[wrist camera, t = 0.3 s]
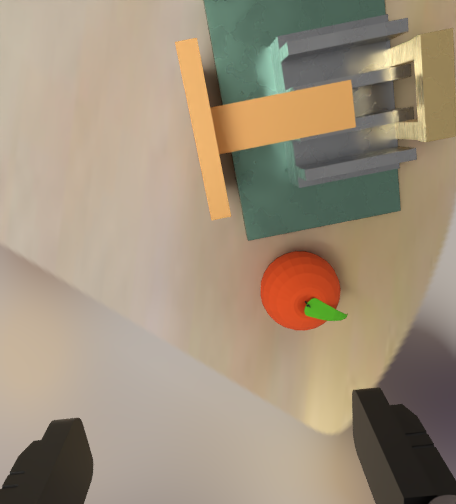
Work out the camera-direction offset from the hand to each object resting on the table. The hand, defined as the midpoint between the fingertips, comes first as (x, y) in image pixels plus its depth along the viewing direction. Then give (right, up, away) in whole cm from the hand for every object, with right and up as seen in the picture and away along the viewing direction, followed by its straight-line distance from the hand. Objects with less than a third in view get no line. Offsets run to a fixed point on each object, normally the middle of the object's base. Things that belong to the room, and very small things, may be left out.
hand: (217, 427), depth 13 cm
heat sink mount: (+7, +17, +24) cm, 31 cm away
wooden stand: (+3, +16, +23) cm, 28 cm away
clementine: (+7, +3, +29) cm, 30 cm away
